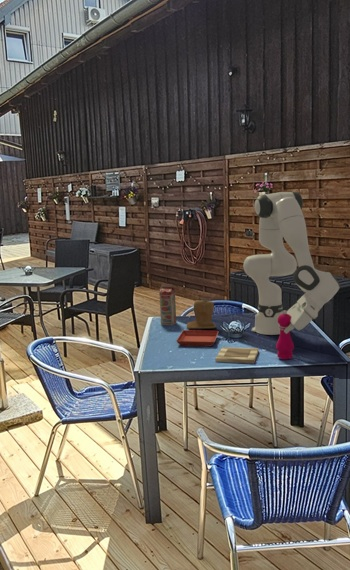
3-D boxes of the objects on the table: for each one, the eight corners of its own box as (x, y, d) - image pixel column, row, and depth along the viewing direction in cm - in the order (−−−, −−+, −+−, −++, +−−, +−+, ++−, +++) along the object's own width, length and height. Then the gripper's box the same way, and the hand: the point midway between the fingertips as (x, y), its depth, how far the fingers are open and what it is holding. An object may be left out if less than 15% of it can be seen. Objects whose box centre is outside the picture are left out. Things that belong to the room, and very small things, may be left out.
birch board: (222, 350, 229) (222, 346, 229) (258, 351, 224) (258, 348, 224) (215, 361, 214) (215, 357, 213) (253, 363, 209) (253, 359, 209)
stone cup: (215, 325, 273) (214, 297, 271) (216, 330, 262) (215, 302, 259) (187, 325, 274) (186, 298, 272) (186, 331, 262) (185, 303, 260)
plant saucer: (214, 348, 234) (214, 341, 233) (176, 347, 237) (175, 340, 237) (219, 337, 251) (219, 330, 250) (183, 336, 255) (182, 330, 254)
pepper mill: (281, 353, 219) (281, 307, 215) (296, 355, 214) (297, 309, 211) (273, 357, 213) (272, 311, 210) (288, 360, 209) (288, 313, 205)
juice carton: (164, 322, 284) (163, 283, 280) (176, 322, 282) (174, 283, 278) (160, 324, 278) (159, 285, 274) (172, 325, 276) (170, 285, 272)
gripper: (297, 296, 219) (274, 318, 222) (307, 306, 199) (281, 331, 201) (307, 305, 220) (284, 328, 222) (318, 317, 200) (293, 342, 202)
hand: (283, 330), depth 212 cm, fingers closed on pepper mill, 5 cm apart
